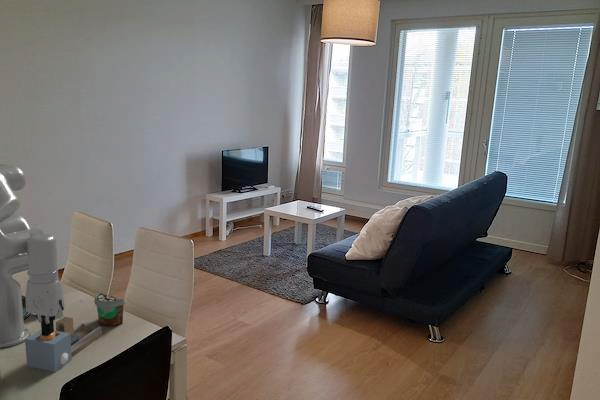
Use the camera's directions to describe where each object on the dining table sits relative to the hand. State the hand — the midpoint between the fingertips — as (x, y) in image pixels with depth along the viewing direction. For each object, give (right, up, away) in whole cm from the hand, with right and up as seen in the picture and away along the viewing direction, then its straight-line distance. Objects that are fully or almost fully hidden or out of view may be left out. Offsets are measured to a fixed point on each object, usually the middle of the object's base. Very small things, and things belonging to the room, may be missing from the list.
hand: (48, 333), depth 145 cm
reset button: (0, -4, +1) cm, 5 cm away
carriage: (+1, -6, +9) cm, 11 cm away
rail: (+2, -7, +13) cm, 15 cm away
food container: (+6, -4, +28) cm, 29 cm away
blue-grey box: (-1, -10, +2) cm, 10 cm away
